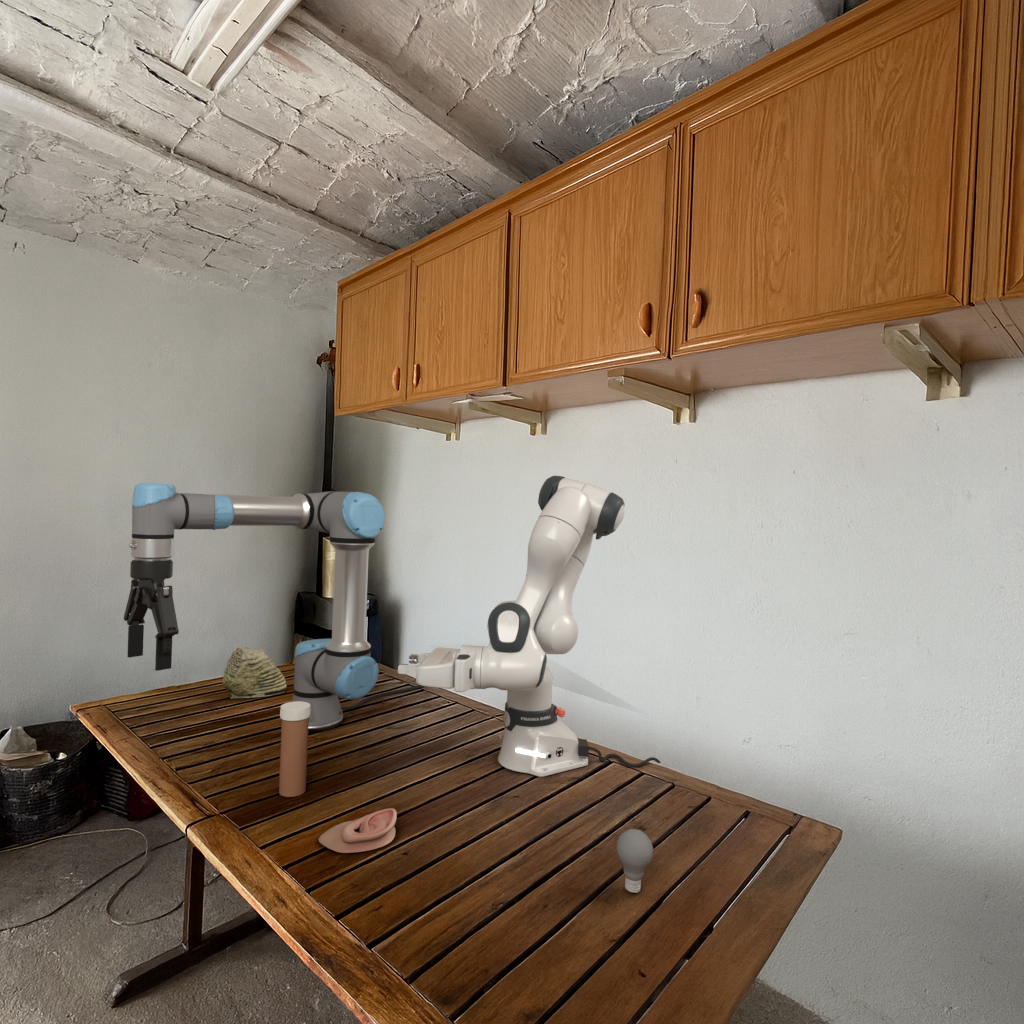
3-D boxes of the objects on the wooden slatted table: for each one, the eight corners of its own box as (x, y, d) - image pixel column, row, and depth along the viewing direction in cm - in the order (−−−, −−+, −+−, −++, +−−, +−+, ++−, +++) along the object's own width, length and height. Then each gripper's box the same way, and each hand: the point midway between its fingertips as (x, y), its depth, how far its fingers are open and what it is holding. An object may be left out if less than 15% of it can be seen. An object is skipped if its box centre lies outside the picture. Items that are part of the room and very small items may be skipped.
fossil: (218, 695, 195) (220, 647, 195) (278, 685, 208) (279, 640, 207) (228, 703, 189) (230, 653, 188) (289, 692, 201) (290, 645, 201)
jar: (301, 783, 140) (304, 702, 139) (309, 793, 135) (312, 709, 135) (275, 788, 136) (278, 706, 136) (282, 799, 132) (286, 713, 132)
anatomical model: (310, 826, 114) (340, 797, 125) (309, 848, 114) (339, 817, 125) (379, 837, 111) (403, 806, 122) (378, 859, 111) (403, 827, 123)
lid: (305, 709, 140) (305, 699, 140) (314, 718, 135) (314, 707, 135) (276, 714, 136) (277, 703, 136) (284, 723, 131) (285, 712, 131)
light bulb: (610, 879, 108) (613, 822, 108) (644, 879, 109) (647, 822, 109) (619, 902, 102) (622, 840, 102) (655, 901, 103) (658, 840, 103)
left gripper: (108, 554, 134) (104, 654, 134) (159, 565, 118) (155, 678, 119) (146, 552, 140) (143, 648, 140) (199, 563, 124) (195, 671, 124)
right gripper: (475, 642, 144) (415, 639, 145) (462, 662, 123) (392, 659, 124) (474, 670, 144) (414, 667, 145) (461, 694, 123) (391, 691, 124)
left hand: (148, 662), depth 129 cm, fingers open, 13 cm apart
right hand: (404, 663), depth 134 cm, fingers open, 8 cm apart
